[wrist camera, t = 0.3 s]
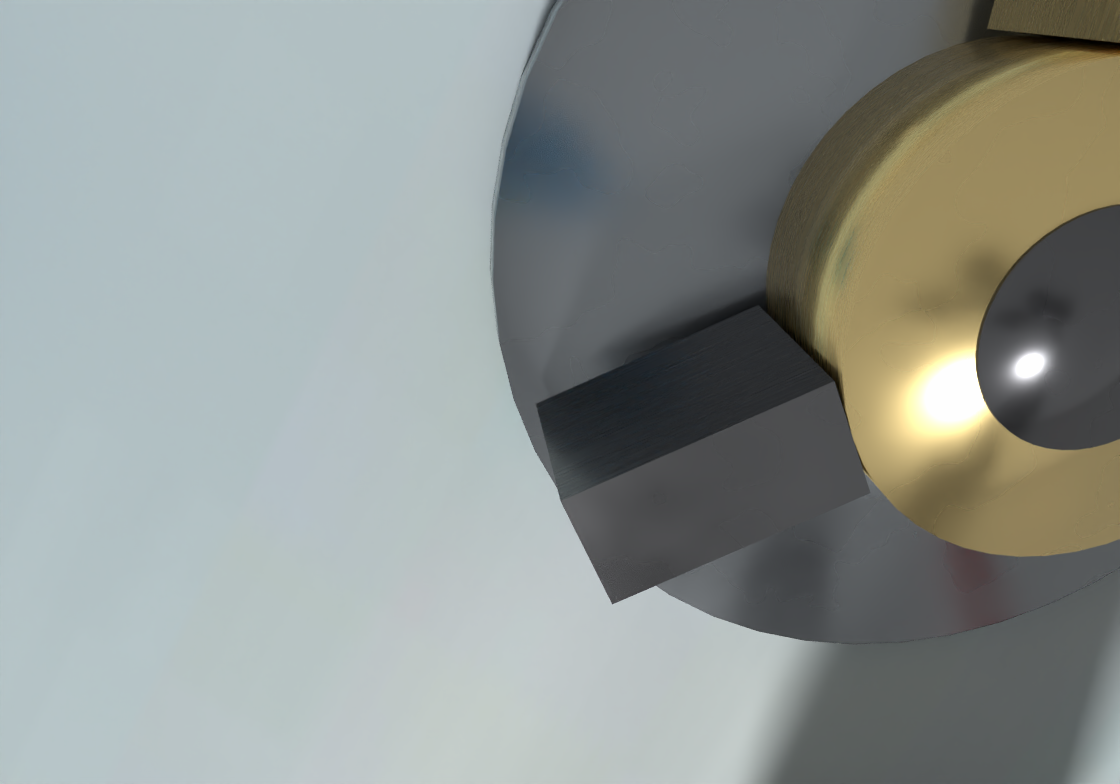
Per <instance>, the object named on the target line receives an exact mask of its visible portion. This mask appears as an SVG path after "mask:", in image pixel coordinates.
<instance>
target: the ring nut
mask: <svg viewBox="0 0 1120 784" xmlns="http://www.w3.org/2000/svg"><path fill="white" fill-rule="evenodd" d="M987 29H993V30H1000V31H1008V32H1015V33H1022V34H1030V35H1037V36H1029V35H1008V36H997V37H986V38H982V39H978V40H973V41H969V42H965V43H961V44H956V45H954V46H951V47H948V48H946V49H943V50H940V51H938V52H935V53H933V54H930V55H927V56H925V57H923V58H921V59H920V60H918V61H916V62H914V63H912V64H910V65H908V66H906V67H904V68H903V69H901V70H899V71H897V72H896V73H894V74H893V75H891V76H890V77H889V78H887V79H886V80H884V81H883V82H881V83H880V84H878V85H877V86H876V87H874V88H873V89H871V90H870V91H869V92H868V93H867V94H866V95H864V96H863V97H862V98H861V99H860V100H859V101H858V102H857V103H855V104H854V105H853V106H852V107H851V108H850V109H849V110H847V111H846V112H845V114H844V115H843V116H842V117H841V118H840V119H839V120H838V121H837V122H836V124H835V125H834V126H833V127H832V128H831V129H830V130H829V131H828V132H827V133H826V135H825V136H824V137H823V138H822V140H821V141H820V143H819V144H818V145H817V147H816V148H815V150H814V151H813V152H812V154H811V155H810V157H809V158H808V159H807V161H806V162H805V164H804V166H803V168H802V169H801V171H800V173H799V175H798V177H797V178H796V180H795V182H794V184H793V186H792V188H791V189H790V191H789V194H788V196H787V199H786V201H785V204H784V206H783V209H782V211H781V213H780V216H779V218H778V222H777V225H776V229H775V233H774V236H773V240H772V243H771V247H770V253H769V260H768V267H767V274H766V309H767V313H766V312H765V311H764V310H763V309H762V308H761V307H760V306H759V305H757V306H755V307H752V308H750V309H748V310H746V311H743V312H741V313H739V314H737V315H734V316H732V317H730V318H728V319H725V320H723V321H721V322H719V323H716V324H714V325H712V326H710V327H707V328H705V329H703V330H701V331H698V332H696V333H694V334H692V335H689V336H687V337H685V338H683V339H680V340H678V341H676V342H674V343H671V344H669V345H667V346H665V347H662V348H660V349H658V350H656V351H653V352H651V353H649V354H647V355H644V356H642V357H640V358H638V359H635V360H633V361H631V362H629V363H626V364H624V365H622V366H620V367H617V368H615V369H613V370H611V371H608V372H606V373H604V374H602V375H599V376H597V377H595V378H592V379H590V380H588V381H586V382H583V383H581V384H579V385H577V386H574V387H572V388H570V389H568V390H565V391H563V392H561V393H559V394H556V395H554V396H552V397H550V398H547V399H545V400H543V401H541V402H538V403H536V406H537V410H538V414H539V418H540V422H541V426H542V430H543V434H544V438H545V441H546V445H547V449H548V453H549V457H550V461H551V465H552V469H553V473H554V477H555V481H556V485H557V488H558V492H559V496H560V500H561V503H562V505H563V507H564V509H565V511H566V513H567V515H568V517H569V519H570V521H571V523H572V525H573V527H574V529H575V531H576V533H577V535H578V537H579V539H580V541H581V543H582V545H583V547H584V549H585V551H586V553H587V555H588V556H589V558H590V560H591V562H592V564H593V566H594V568H595V570H596V572H597V574H598V576H599V578H600V580H601V582H602V584H603V586H604V588H605V590H606V592H607V594H608V596H609V598H610V600H611V602H612V604H614V603H616V602H619V601H621V600H623V599H626V598H628V597H630V596H633V595H635V594H637V593H640V592H642V591H644V590H647V589H649V588H651V587H654V586H656V585H658V584H661V583H663V582H665V581H667V580H670V579H672V578H674V577H677V576H679V575H681V574H684V573H686V572H688V571H691V570H693V569H695V568H698V567H700V566H702V565H705V564H707V563H709V562H712V561H714V560H716V559H719V558H721V557H723V556H726V555H728V554H730V553H733V552H735V551H737V550H739V549H742V548H744V547H746V546H749V545H751V544H753V543H756V542H758V541H760V540H763V539H765V538H767V537H770V536H772V535H774V534H777V533H779V532H781V531H784V530H786V529H788V528H791V527H793V526H795V525H798V524H800V523H802V522H805V521H807V520H809V519H811V518H814V517H816V516H818V515H821V514H823V513H825V512H828V511H830V510H832V509H835V508H837V507H839V506H842V505H844V504H846V503H849V502H851V501H853V500H856V499H858V498H860V497H863V496H865V495H867V494H870V490H869V486H868V483H867V480H866V477H865V474H866V475H867V476H868V477H869V478H870V479H871V480H872V482H873V483H874V484H875V485H876V486H877V487H878V488H879V490H880V491H881V492H882V493H883V494H884V495H885V496H886V498H887V499H888V500H889V501H890V502H891V503H892V504H893V506H894V507H895V508H896V509H898V510H899V511H900V512H901V513H902V514H904V515H905V516H906V517H907V518H908V519H910V520H911V521H912V522H913V523H915V524H916V525H917V526H919V527H921V528H923V529H924V530H926V531H928V532H929V533H931V534H933V535H935V536H936V537H938V538H940V539H943V540H945V541H948V542H950V543H953V544H955V545H958V546H961V547H963V548H967V549H971V550H976V551H980V552H984V553H988V554H996V555H1006V556H1016V557H1024V556H1049V555H1056V554H1063V553H1071V552H1077V551H1081V550H1085V549H1089V548H1093V547H1097V546H1100V545H1104V544H1108V543H1110V542H1113V541H1116V540H1118V539H1120V0H995V1H994V5H993V8H992V12H991V16H990V19H989V23H988V26H987ZM864 472H865V474H864Z"/></svg>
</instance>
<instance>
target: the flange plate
mask: <svg viewBox="0 0 1120 784" xmlns="http://www.w3.org/2000/svg"><path fill="white" fill-rule="evenodd" d="M994 1H995V0H556V2H555V4H554V5H553V7H552V9H551V10H550V13H549V15H548V17H547V20H546V22H545V24H544V26H543V29H542V31H541V33H540V35H539V38H538V40H537V42H536V45H535V47H534V49H533V51H532V54H531V56H530V58H529V60H528V63H527V65H526V67H525V70H524V72H523V74H522V77H521V80H520V83H519V87H518V90H517V94H516V97H515V100H514V104H513V107H512V110H511V114H510V117H509V121H508V124H507V127H506V131H505V134H504V137H503V141H502V146H501V153H500V159H499V165H498V171H497V177H496V184H495V190H494V196H493V202H492V219H491V255H490V272H491V281H492V290H493V300H494V309H495V318H496V327H497V332H498V337H499V342H500V346H501V350H502V354H503V358H504V362H505V366H506V370H507V374H508V378H509V382H510V386H511V390H512V394H513V398H514V401H515V403H516V406H517V408H518V411H519V413H520V416H521V418H522V420H523V423H524V425H525V428H526V430H527V433H528V435H529V437H530V440H531V442H532V445H533V447H534V450H535V452H536V453H537V455H538V457H539V458H540V460H541V462H542V463H543V465H544V467H545V468H546V470H547V472H548V473H549V475H550V477H551V478H552V480H553V482H554V483H555V485H556V481H555V477H554V473H553V469H552V465H551V461H550V457H549V453H548V449H547V445H546V441H545V438H544V434H543V430H542V426H541V422H540V418H539V414H538V410H537V406H536V403H538V402H541V401H543V400H545V399H547V398H550V397H552V396H554V395H556V394H559V393H561V392H563V391H565V390H568V389H570V388H572V387H574V386H577V385H579V384H581V383H583V382H586V381H588V380H590V379H592V378H595V377H597V376H599V375H602V374H604V373H606V372H608V371H611V370H613V369H615V368H617V367H620V366H622V365H624V364H626V363H629V362H631V361H633V360H635V359H638V358H640V357H642V356H644V355H647V354H649V353H651V352H653V351H656V350H658V349H660V348H662V347H665V346H667V345H669V344H671V343H674V342H676V341H678V340H680V339H683V338H685V337H687V336H689V335H692V334H694V333H696V332H698V331H701V330H703V329H705V328H707V327H710V326H712V325H714V324H716V323H719V322H721V321H723V320H725V319H728V318H730V317H732V316H734V315H737V314H739V313H741V312H743V311H746V310H748V309H750V308H752V307H755V306H757V305H759V306H760V307H761V308H762V309H763V310H764V311H765V312H766V313H767V309H766V274H767V267H768V260H769V253H770V247H771V243H772V240H773V236H774V233H775V229H776V225H777V222H778V218H779V216H780V213H781V211H782V209H783V206H784V204H785V201H786V199H787V196H788V194H789V191H790V189H791V188H792V186H793V184H794V182H795V180H796V178H797V177H798V175H799V173H800V171H801V169H802V168H803V166H804V164H805V162H806V161H807V159H808V158H809V157H810V155H811V154H812V152H813V151H814V150H815V148H816V147H817V145H818V144H819V143H820V141H821V140H822V138H823V137H824V136H825V135H826V133H827V132H828V131H829V130H830V129H831V128H832V127H833V126H834V125H835V124H836V122H837V121H838V120H839V119H840V118H841V117H842V116H843V115H844V114H845V112H846V111H847V110H849V109H850V108H851V107H852V106H853V105H854V104H855V103H857V102H858V101H859V100H860V99H861V98H862V97H863V96H864V95H866V94H867V93H868V92H869V91H870V90H871V89H873V88H874V87H876V86H877V85H878V84H880V83H881V82H883V81H884V80H886V79H887V78H889V77H890V76H891V75H893V74H894V73H896V72H897V71H899V70H901V69H903V68H904V67H906V66H908V65H910V64H912V63H914V62H916V61H918V60H920V59H921V58H923V57H925V56H927V55H930V54H933V53H935V52H938V51H940V50H943V49H946V48H948V47H951V46H954V45H956V44H961V43H965V42H969V41H973V40H978V39H982V38H986V37H997V36H1008V35H1029V36H1037V35H1030V34H1022V33H1015V32H1008V31H1000V30H993V29H987V26H988V23H989V19H990V16H991V12H992V8H993V5H994ZM864 474H865V472H864ZM865 477H866V480H867V483H868V486H869V490H870V494H867V495H865V496H863V497H860V498H858V499H856V500H853V501H851V502H849V503H846V504H844V505H842V506H839V507H837V508H835V509H832V510H830V511H828V512H825V513H823V514H821V515H818V516H816V517H814V518H811V519H809V520H807V521H805V522H802V523H800V524H798V525H795V526H793V527H791V528H788V529H786V530H784V531H781V532H779V533H777V534H774V535H772V536H770V537H767V538H765V539H763V540H760V541H758V542H756V543H753V544H751V545H749V546H746V547H744V548H742V549H739V550H737V551H735V552H733V553H730V554H728V555H726V556H723V557H721V558H719V559H716V560H714V561H712V562H709V563H707V564H705V565H702V566H700V567H698V568H695V569H693V570H691V571H688V572H686V573H684V574H681V575H679V576H677V577H674V578H672V579H670V580H667V581H665V582H663V583H661V584H658V585H656V586H657V587H659V588H660V589H662V590H663V591H665V592H666V593H668V594H669V595H671V596H673V597H675V598H677V599H679V600H681V601H683V602H685V603H687V604H689V605H691V606H693V607H695V608H697V609H699V610H701V611H703V612H705V613H707V614H710V615H712V616H714V617H717V618H720V619H723V620H726V621H729V622H732V623H735V624H738V625H741V626H744V627H747V628H750V629H753V630H756V631H759V632H764V633H770V634H775V635H780V636H785V637H790V638H795V639H800V640H805V641H818V642H832V643H845V644H867V643H892V642H906V641H912V640H919V639H926V638H933V637H939V636H946V635H952V634H956V633H960V632H963V631H967V630H971V629H975V628H979V627H983V626H987V625H991V624H995V623H999V622H1002V621H1004V620H1007V619H1010V618H1012V617H1015V616H1018V615H1021V614H1023V613H1026V612H1029V611H1032V610H1034V609H1037V608H1040V607H1043V606H1045V605H1048V604H1050V603H1052V602H1054V601H1056V600H1059V599H1061V598H1063V597H1065V596H1067V595H1069V594H1071V593H1073V592H1075V591H1077V590H1080V589H1082V588H1084V587H1086V586H1088V585H1090V584H1092V583H1094V582H1096V581H1098V580H1099V579H1101V578H1103V577H1105V576H1106V575H1108V574H1110V573H1111V572H1113V571H1115V570H1116V569H1118V568H1120V539H1118V540H1116V541H1113V542H1110V543H1108V544H1104V545H1100V546H1097V547H1093V548H1089V549H1085V550H1081V551H1077V552H1071V553H1063V554H1056V555H1049V556H1024V557H1016V556H1006V555H996V554H988V553H984V552H980V551H976V550H971V549H967V548H963V547H961V546H958V545H955V544H953V543H950V542H948V541H945V540H943V539H940V538H938V537H936V536H935V535H933V534H931V533H929V532H928V531H926V530H924V529H923V528H921V527H919V526H917V525H916V524H915V523H913V522H912V521H911V520H910V519H908V518H907V517H906V516H905V515H904V514H902V513H901V512H900V511H899V510H898V509H896V508H895V507H894V506H893V504H892V503H891V502H890V501H889V500H888V499H887V498H886V496H885V495H884V494H883V493H882V492H881V491H880V490H879V488H878V487H877V486H876V485H875V484H874V483H873V482H872V480H871V479H870V478H869V477H868V476H867V475H866V474H865ZM556 487H557V485H556Z"/></svg>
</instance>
